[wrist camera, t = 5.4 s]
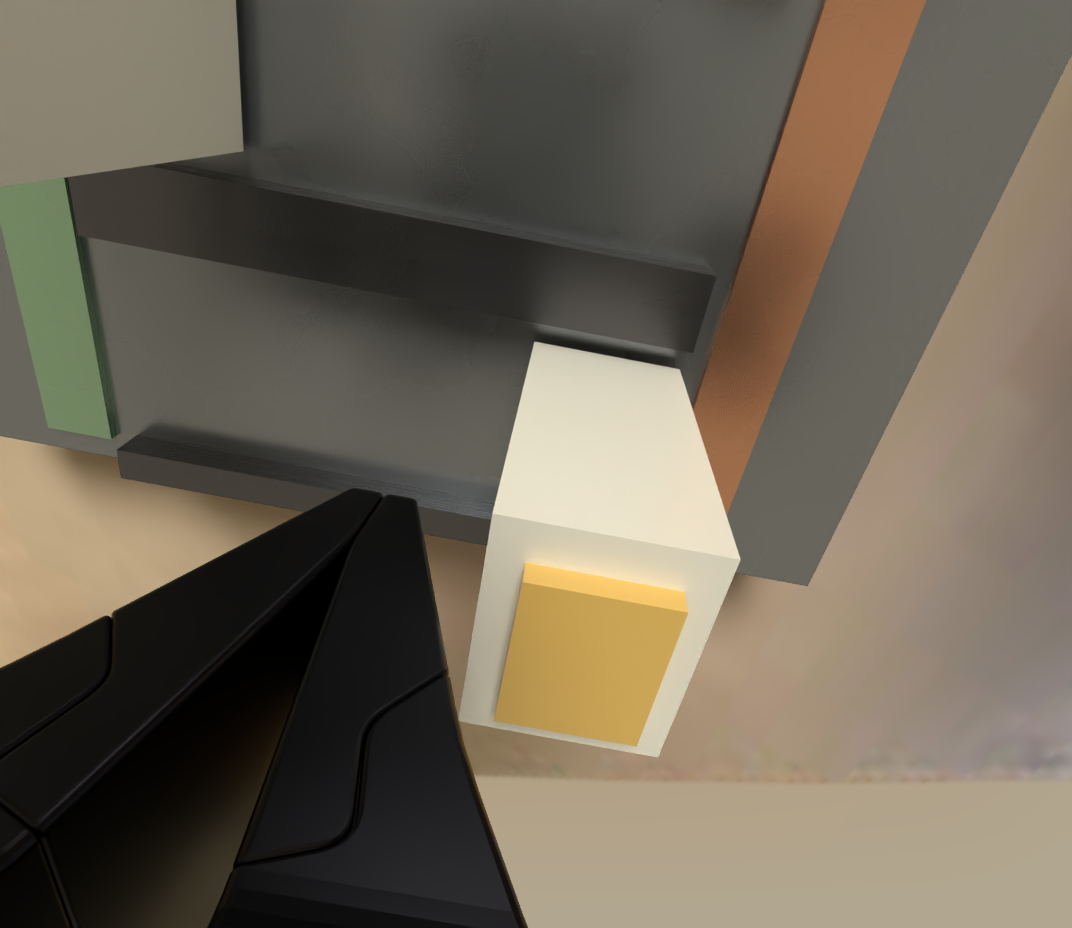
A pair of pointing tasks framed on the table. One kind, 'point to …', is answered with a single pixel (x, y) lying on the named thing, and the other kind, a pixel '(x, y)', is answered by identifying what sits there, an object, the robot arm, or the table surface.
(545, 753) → the table surface
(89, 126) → the block
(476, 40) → the breaker panel
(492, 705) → the block
